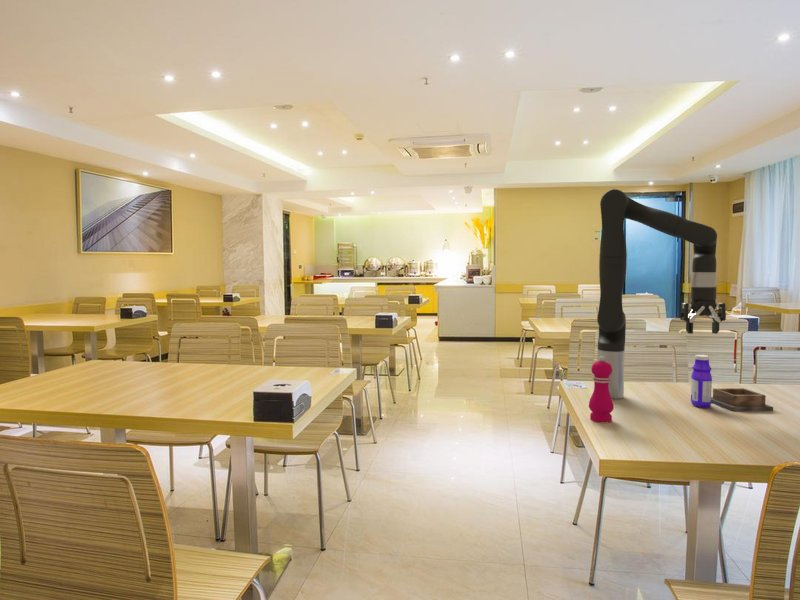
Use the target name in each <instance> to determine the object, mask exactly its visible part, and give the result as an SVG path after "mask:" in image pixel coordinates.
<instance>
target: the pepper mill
mask: <svg viewBox="0 0 800 600" xmlns="http://www.w3.org/2000/svg"><path fill="white" fill-rule="evenodd" d="M590 368H591V373H592V374H593V376H592V381H593V382H594V383H593V384H594V386H593V392H592V394H591V396H590V399H589V402H588V408H589V410H590V413H589V414H590V415H589V416H590V417H589V419H590V420H591V421H592V420H593V422H595V421H596V423H601V422H605V423H604V424H606V422H608V423H611V422H612V419H613V416H612V412H613V411H614V409H615V406H614V405H615V404H614V401H613V399H612V398H611V396H610V393H609V382H610V377H609V376H610V375H611V373H612V367H611V365H610V364H609V363H608V362H605V358H604V357H603V356H600V357H599V361H595V362H593V364H592V365H591V367H590Z"/></svg>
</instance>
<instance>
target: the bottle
mask: <svg viewBox="0 0 800 600" xmlns="http://www.w3.org/2000/svg"><path fill="white" fill-rule="evenodd" d="M694 357H695V358H694V364H693V366H692V373H691V380H690V381H691V382H690V383H691V387H690V402H691V404H692V405H693V406H694V407H697V408H703V409H705V408H711V405H712V403H711V397H712V383H713V376H712V373H711V371H712V368H711V365H710V356H709V355H707V354H695V356H694Z"/></svg>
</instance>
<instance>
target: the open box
mask: <svg viewBox="0 0 800 600" xmlns="http://www.w3.org/2000/svg"><path fill="white" fill-rule="evenodd" d="M766 397H767V395H765V394H762V393H759V392H756V391H752V390H750V389H748V388H742V387H739V388H731V387H729V388H719V387H718V388H712V396H711V404H713V405H716V406H718V407H720V408H723V409H726V410H727V411H731V412H747V411H748V412H757V411H758V412H762V411H763V412H768V411H769V412H770V411H771V412H773V411H774V406H771V405H769V404H766Z"/></svg>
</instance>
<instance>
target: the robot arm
mask: <svg viewBox="0 0 800 600" xmlns="http://www.w3.org/2000/svg"><path fill="white" fill-rule="evenodd" d="M599 204H600V205H599V206H600V207H599V208H600V215H601V217H600V218H601V236H600V246H599V255H598V257H599V261H598V262H599V263H598V264H599V265H598V267H599V268H598V269H599V271H598V272H599V275H598V276H599V277H598V279H599V288H600V290H599V291H600V295H599V296H600V297H599V303H598V313H597V318H596V321H597V324H598V338H597V361H599V357H600V356H603V357H604V358H605V362H608V363H609V364H610V365H611V367H612V373H611V375H610V376H609V377H610V382H609V393H610V396H611V398H612V400H614V399H615V400H617V399H623V398H624V396H625V394H624V393H625V347H626V330H627V329H626V327H627V319H626V314H625V312H624V311H623V310H624V309H623V290H624V285H625V281H626V276H627V274H626V273H627V266H628V265H627V264H628V263H627V261H628V259H627V257H628V256H627V255H628V254H627V251H628V250H627V243H626V236H625V228H624V227H625V226H624V225H625V219H627V220H630V221H634V222H637V223H640V224H642V225H644V226H646V227H649V228H651V229H653V230H655V231H658V232H661V233H663V234H665V235H668V236H671V237H674V238H677V239H681V240H685V241H686V242H689V243H691V244H693V248H692V249H693V258H692V267H691V268H692V269H691V271H692V273H691V280H690V302H689V303H687V302H682V303H681V305H680V306H681V307H680V317H679V320H681V321H684V322H685V332H686V333H687V334H688V335H689V334H691V335H693V334H694V321H695V320H696V319H697V318H698V317H699V316H700V317H702V316H705V317H709V318H710V319H711V321H712V322H711V333H712V334H715V335H717V334H718V333H719V332H720V323H721V322H724V321H726V320H727V319H726V318H727V314H726V309H727V308H726V303H724V302H716V300H717V287H718V285H717V283H718V282H717V281H718V277H717V258H716V253H717V240H718V232H717V231H716V230H715V228H713V227H712V226H709V225H706V224H703V223H699V222H696V221H692V220H690V219H687V218H685V217H683V216H681V215H677V214H675V213H672V212H668V211H665V210H661V209H658V208H654V207H651V206H647V205H645V204H643V203H640V202H638V201H636V200H634V199H632V198H630V197H629V196H627V194H626V193H625V192H624V191H622V190H620V189H617V188H612V189H609V190H607V191H606V192H605V193H603V195H602V196H601V198H600V203H599ZM690 309H691V311H690V312H689V310H690ZM715 310H717V312H716V311H715ZM597 361H596V362H597Z"/></svg>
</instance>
